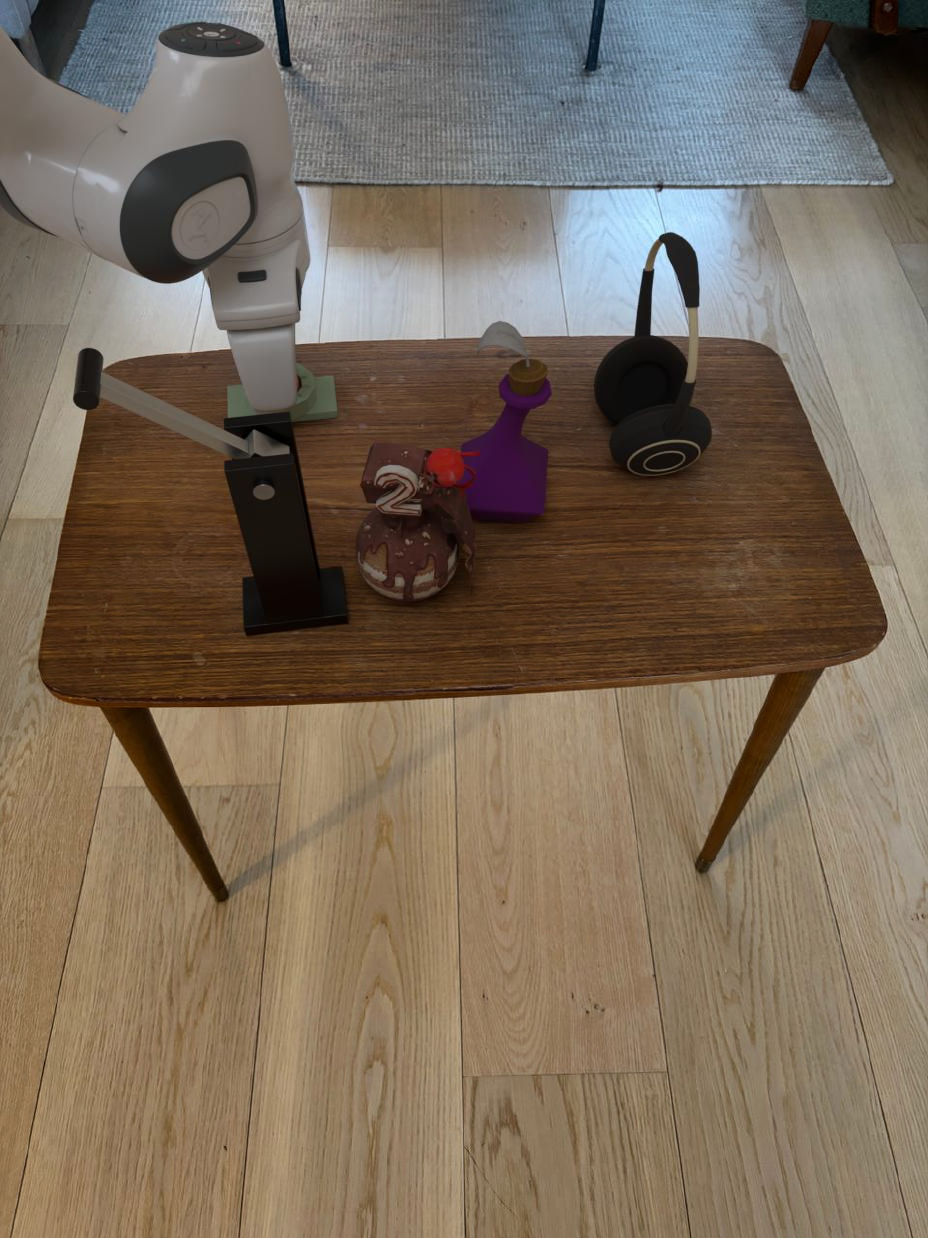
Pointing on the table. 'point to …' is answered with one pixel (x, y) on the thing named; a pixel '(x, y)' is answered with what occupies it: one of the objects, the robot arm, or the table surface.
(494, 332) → the perfume bottle
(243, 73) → the robot arm
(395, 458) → the chocolate birthday cake
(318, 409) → the button box
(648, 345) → the headphones
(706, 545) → the table surface
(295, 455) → the bracket
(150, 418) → the lever
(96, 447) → the table surface
